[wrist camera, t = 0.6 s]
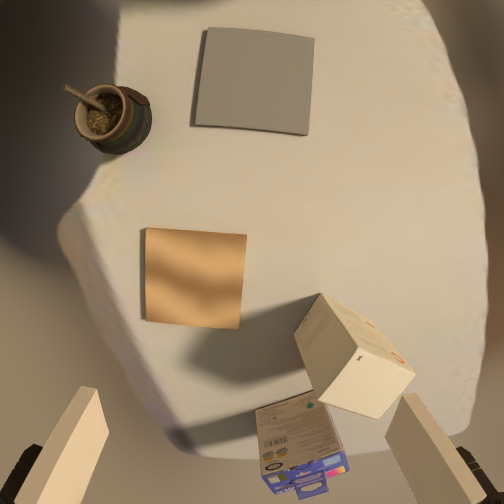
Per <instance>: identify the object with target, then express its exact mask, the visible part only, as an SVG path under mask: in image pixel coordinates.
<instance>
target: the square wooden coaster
mask: <svg viewBox="0 0 504 504" xmlns="http://www.w3.org/2000/svg"><path fill="white" fill-rule="evenodd" d="M246 240H247V235H242V234H229V233H216V232H203V231H190V230H176V229H162V228H146V245H145V294H146V321H151V322H159V323H168V324H178V325H188V326H199V327H210V328H223V329H237V330H239V320H240V308H241V297H242V285H243V274H244V263H245V251H246Z"/></svg>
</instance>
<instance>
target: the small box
mask: <svg viewBox="0 0 504 504" xmlns="http://www.w3.org/2000/svg"><path fill="white" fill-rule="evenodd" d="M293 335H294V338H295V341H296V343H297V346H298V349H299V352H300V354H301V357H302V360H303V362H304V365H305V368H306V371H307V373H308V376H309V379H310V381H311V384H312V387H313V390H314V392H315V395H316V398H317V400H318V401H320V402H323V403H326V404H329V405H332V406H335V407H338V408H341V409H344V410H347V411H350V412H353V413H357V414H360V415H363V416H366V417H370V418H373V419H376V420H377V419H378V418H379V417H380V416H381V415H382V414H383V413H384V412H385V411H386V410H387V408H388V407H389V406H390V405H391V404H392V403H393V402H394V400H395V399H396V398H397V397H398V396H399V395H400V393H401V392H402V391H403V390H404V389H405V387H406V386H407V385H408V384H409V382H410V381H411V380H412V379H413V378H414V376H415V375H416V374H415V372H414V371H413V370H412V369H411V367H410V366H409V365H408V364H407V362H406V361H405V360H404V359H403V358H402V357H401V355H400V354H399V353H398V352H397V351H396V350H395V348H394V347H393V346H392V345H391V344H390V342H389V341H388V340H387V339H386V338H385V337H384V336H383V334H382V333H381V332H380V331H379V330H378V329H377V327H376V326H375V325H374V324H373V323H372V322H371V320H370V319H369V318H367V317H365V316H363V315H361V314H360V313H358V312H356V311H354V310H352V309H350V308H349V307H347V306H345V305H343V304H341V303H339V302H337V301H336V300H334V299H332V298H330V297H328V296H326V295H324V294H322V293H321V294H320V295H319V296H318V298H317V299H316V301H315V302H314V304H313V305H312V307H311V309H310V310H309V312H308V313H307V315H306V316H305V318H304V319H303V321H302V322H301V324H300V325H299V327H298V328H297V330H296V331H295V333H294V334H293Z"/></svg>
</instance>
